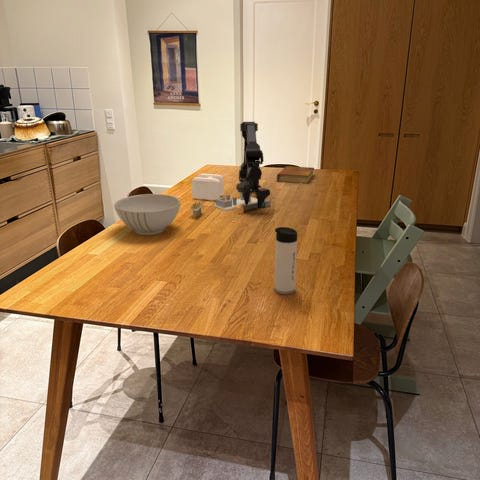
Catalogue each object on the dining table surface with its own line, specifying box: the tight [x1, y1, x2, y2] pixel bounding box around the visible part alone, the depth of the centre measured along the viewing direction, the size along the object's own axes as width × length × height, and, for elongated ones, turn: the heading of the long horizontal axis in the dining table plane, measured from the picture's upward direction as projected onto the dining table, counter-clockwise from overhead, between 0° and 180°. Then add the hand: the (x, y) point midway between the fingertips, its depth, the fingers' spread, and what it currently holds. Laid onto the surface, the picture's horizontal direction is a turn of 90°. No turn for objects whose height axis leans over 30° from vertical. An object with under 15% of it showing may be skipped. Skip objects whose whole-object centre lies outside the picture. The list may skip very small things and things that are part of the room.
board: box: [213, 192, 257, 212], centre depth 227 cm, size 23×10×5 cm, turn 128°
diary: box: [276, 165, 315, 185], centre depth 279 cm, size 23×19×6 cm
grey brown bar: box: [233, 198, 271, 215], centre depth 219 cm, size 20×3×3 cm, turn 128°
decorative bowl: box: [113, 193, 182, 236], centre depth 190 cm, size 27×27×12 cm
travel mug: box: [273, 226, 298, 295], centre depth 137 cm, size 6×7×20 cm
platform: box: [189, 201, 204, 219], centre depth 209 cm, size 12×18×7 cm, turn 168°
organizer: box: [190, 173, 225, 202], centre depth 237 cm, size 15×11×12 cm
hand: (252, 206), depth 219 cm, fingers open, 9 cm apart
